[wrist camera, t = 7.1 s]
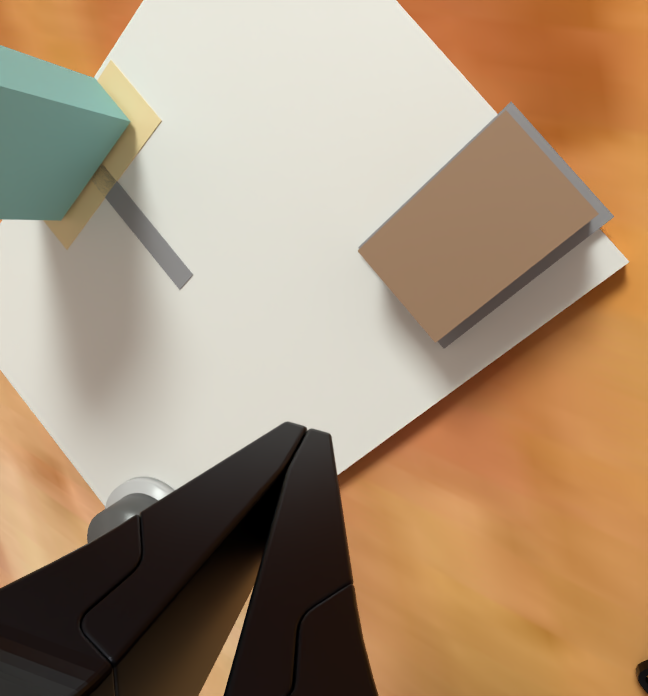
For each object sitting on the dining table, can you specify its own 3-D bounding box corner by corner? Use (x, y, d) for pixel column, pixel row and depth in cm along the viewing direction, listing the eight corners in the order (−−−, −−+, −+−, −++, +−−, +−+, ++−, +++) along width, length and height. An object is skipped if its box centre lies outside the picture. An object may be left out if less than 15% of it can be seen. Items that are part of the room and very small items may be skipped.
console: (638, 250, 18) (663, 255, 15) (175, 590, 29) (130, 637, 26) (268, -164, 19) (215, -243, 16) (-42, 308, 30) (-111, 317, 27)
